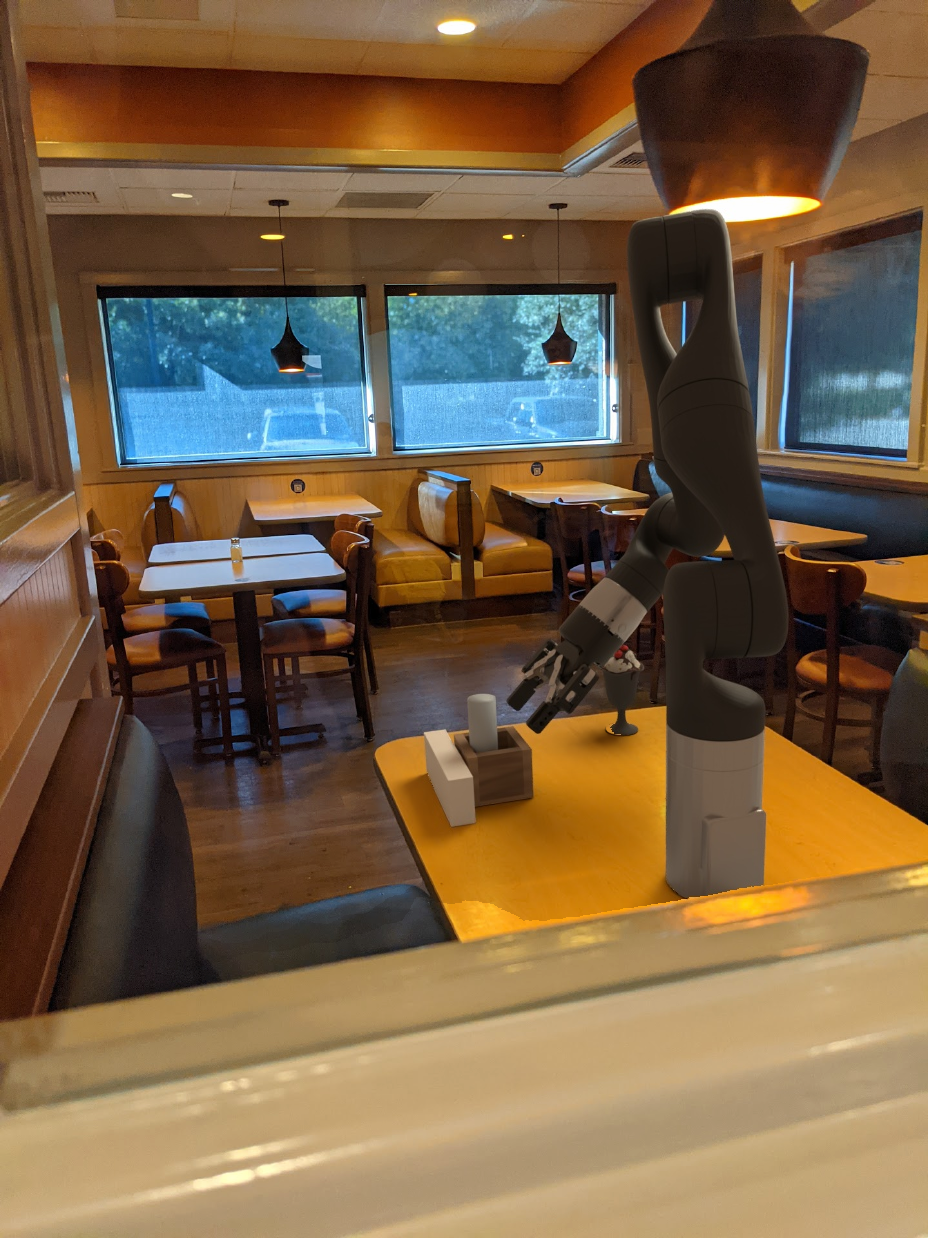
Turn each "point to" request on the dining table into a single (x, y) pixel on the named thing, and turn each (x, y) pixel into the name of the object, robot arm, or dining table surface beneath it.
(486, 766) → the open wooden box
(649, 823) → the dining table surface
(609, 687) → the sundae
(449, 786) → the rail
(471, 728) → the gray cylinder
